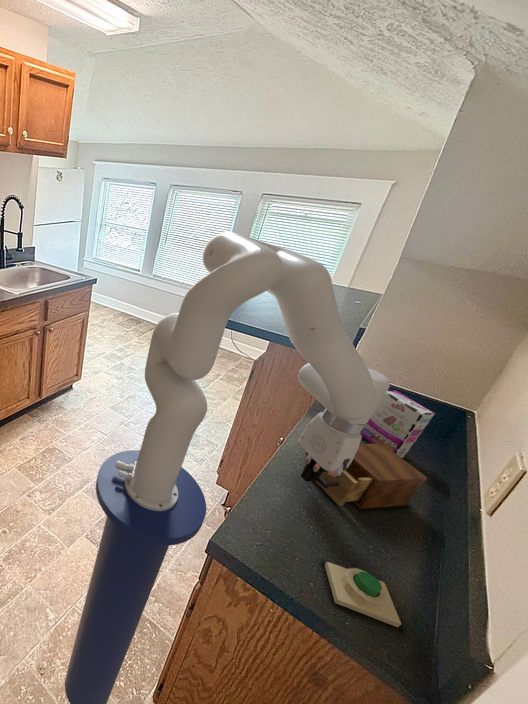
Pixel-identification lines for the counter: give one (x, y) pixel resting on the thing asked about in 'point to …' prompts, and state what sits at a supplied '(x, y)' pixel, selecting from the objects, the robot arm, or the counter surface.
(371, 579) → the button
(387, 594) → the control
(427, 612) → the counter surface
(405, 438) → the candy bar box
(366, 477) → the drawer
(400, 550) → the counter surface
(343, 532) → the counter surface
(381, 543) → the counter surface
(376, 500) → the cabinet
